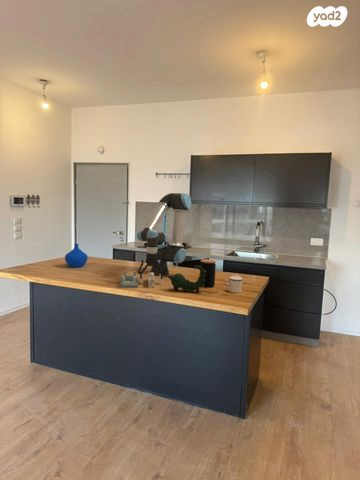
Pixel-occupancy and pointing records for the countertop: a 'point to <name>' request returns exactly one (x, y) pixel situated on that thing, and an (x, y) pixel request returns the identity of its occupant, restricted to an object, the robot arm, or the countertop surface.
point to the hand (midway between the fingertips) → (150, 283)
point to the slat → (151, 280)
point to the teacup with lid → (235, 284)
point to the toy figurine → (185, 284)
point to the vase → (76, 257)
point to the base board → (129, 285)
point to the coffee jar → (209, 272)
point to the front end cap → (128, 281)
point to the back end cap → (129, 275)
